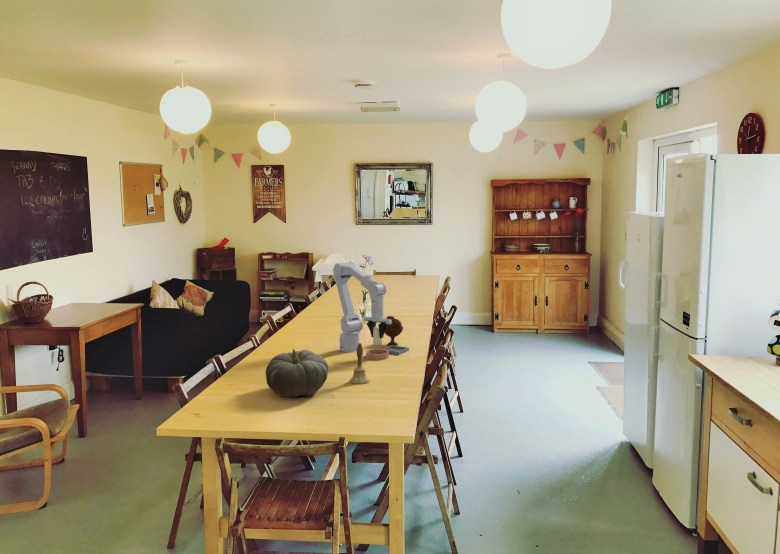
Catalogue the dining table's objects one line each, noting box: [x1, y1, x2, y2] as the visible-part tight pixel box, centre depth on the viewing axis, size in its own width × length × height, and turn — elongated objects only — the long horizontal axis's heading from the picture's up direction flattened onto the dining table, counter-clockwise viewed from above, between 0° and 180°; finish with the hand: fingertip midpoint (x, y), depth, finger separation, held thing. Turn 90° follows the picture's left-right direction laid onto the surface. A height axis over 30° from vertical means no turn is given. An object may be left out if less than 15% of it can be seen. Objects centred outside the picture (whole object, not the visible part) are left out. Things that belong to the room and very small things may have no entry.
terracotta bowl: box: [365, 348, 390, 361], centre depth 290 cm, size 11×11×3 cm
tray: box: [382, 345, 410, 356], centre depth 300 cm, size 10×10×2 cm
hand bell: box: [349, 342, 370, 385], centre depth 253 cm, size 8×8×16 cm
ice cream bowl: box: [384, 315, 404, 347], centre depth 315 cm, size 11×11×15 cm
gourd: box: [265, 349, 329, 398], centre depth 239 cm, size 25×25×17 cm
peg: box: [372, 326, 383, 346], centre depth 289 cm, size 4×4×8 cm
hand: (377, 337), depth 289 cm, fingers closed on peg, 4 cm apart
